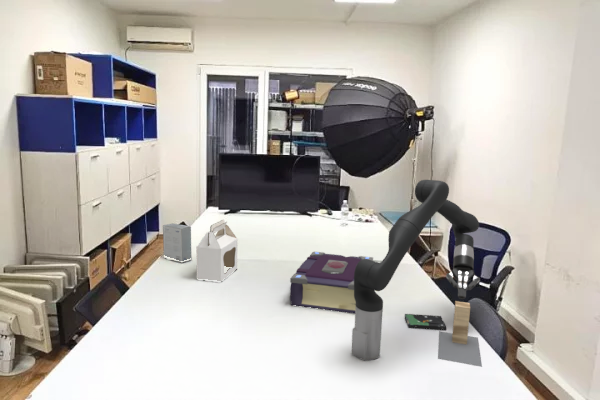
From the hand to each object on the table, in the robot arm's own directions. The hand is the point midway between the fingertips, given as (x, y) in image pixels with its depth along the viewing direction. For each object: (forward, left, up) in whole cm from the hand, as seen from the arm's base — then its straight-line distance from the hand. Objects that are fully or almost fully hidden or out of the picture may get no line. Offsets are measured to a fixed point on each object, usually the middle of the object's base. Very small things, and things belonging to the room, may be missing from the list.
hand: (461, 298), depth 168 cm
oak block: (-6, -4, -14) cm, 15 cm away
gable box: (-38, +114, -15) cm, 121 cm away
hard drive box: (-42, +151, -15) cm, 158 cm away
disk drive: (-4, +13, -15) cm, 20 cm away
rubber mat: (-11, -6, -14) cm, 19 cm away
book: (-7, +61, -15) cm, 63 cm away
